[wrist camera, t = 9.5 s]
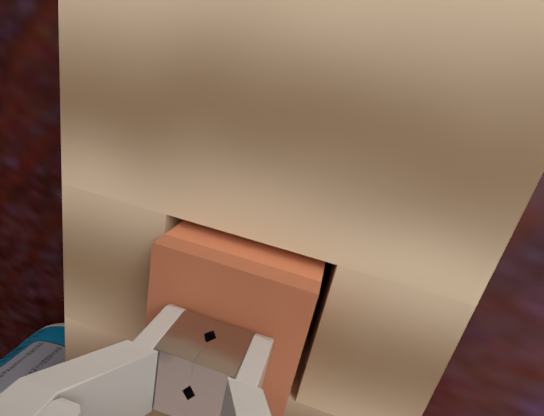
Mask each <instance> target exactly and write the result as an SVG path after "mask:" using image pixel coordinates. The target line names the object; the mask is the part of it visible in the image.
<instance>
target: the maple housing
mask: <svg viewBox="0 0 544 416" xmlns="http://www.w3.org/2000/svg"><path fill="white" fill-rule="evenodd" d="M58 15H59V65H60V116H61V166H62V216H63V267H64V317H65V362H66V361H69V360H71V359H74V358H77V357H80V356H83V355H86V354H88V353H91V352H94V351H97V350H100V349H103V348H105V347H108V346H111V345H114V344H117V343H120V342H122V341H125V340H129V341H133V340H134V339H135V338H136V337H137V336H138V335H139V334H140V333H141V332H142V331H143V330H144V329H145V323H146V311H147V299H148V288H149V276H150V264H151V252H152V242H154V241H155V240H157V239H158V238H159V237H161V236H162V235H164V234H165V233H167V232H168V231H169V230H171V229H172V228H174V227H175V226H176V225H178V224H179V223H181V222H182V221H184V220H187V221H190V222H193V223H197V224H200V225H204V226H207V227H210V228H214V229H217V230H220V231H224V232H227V233H231V234H234V235H237V236H241V237H244V238H247V239H251V240H254V241H258V242H261V243H264V244H268V245H271V246H274V247H278V248H281V249H285V250H288V251H291V252H295V253H298V254H301V255H305V256H308V257H312V258H315V259H318V260H322V261H325V262H328V263H327V266H326V269H325V273H324V276H323V279H322V283H321V287H320V292H319V296H318V300H317V303H316V306H315V310H314V313H313V316H312V320H311V323H310V327H309V330H308V333H307V337H306V340H305V343H304V347H303V350H302V354H301V357H300V360H299V364H298V367H297V370H296V374H295V377H294V381H293V384H292V387H291V391H290V394H289V397H288V401H287V404H286V408H285V411H284V414H283V416H422V414H423V412H424V410H425V408H426V406H427V404H428V402H429V400H430V398H431V396H432V394H433V392H434V390H435V388H436V386H437V384H438V382H439V380H440V378H441V376H442V374H443V372H444V370H445V368H446V366H447V364H448V362H449V360H450V358H451V356H452V354H453V352H454V350H455V348H456V346H457V344H458V342H459V340H460V338H461V336H462V334H463V332H464V330H465V328H466V326H467V324H468V322H469V320H470V318H471V316H472V314H473V312H474V310H475V308H476V306H477V304H478V302H479V300H480V298H481V296H482V294H483V292H484V290H485V288H486V286H487V284H488V282H489V280H490V278H491V276H492V274H493V272H494V270H495V268H496V266H497V264H498V262H499V260H500V258H501V256H502V254H503V252H504V250H505V248H506V246H507V244H508V242H509V240H510V238H511V236H512V234H513V232H514V230H515V228H516V226H517V224H518V222H519V220H520V218H521V216H522V214H523V212H524V210H525V208H526V206H527V204H528V202H529V200H530V198H531V196H532V194H533V192H534V190H535V188H536V186H537V184H538V182H539V180H540V178H541V176H542V174H543V172H544V0H58ZM145 416H171V415H168V414H165V413H162V412H160V411H157V410H154V409H152V411H151V412H149V413H148V414H146V415H145Z"/></svg>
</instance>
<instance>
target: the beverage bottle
mask: <svg viewBox="0 0 544 416" xmlns="http://www.w3.org/2000/svg"><path fill="white" fill-rule="evenodd" d="M63 362H65V323H57V324H52V325H49V326H46V327H44V328H42V329H40V330H38V331H37V332H35V333H34V334H33V335H31V336H30V337H29V338H27V339H26V340H25V341H23V342H22V343H21V344H20V345H19V346H18V347H16V348H15V349H13V350H12V351H11V352H9V353H8V354H7V355H5V356H4V357H3V358H1V359H0V394H1V393H2V392H3V391H4V390H5V389H7V388H8V387H9V386H10V385H12V384H13V383H14V382H15V381H16V380H18V379H19V378H20V377H23V376H26V375H29V374H32V373H35V372H37V371H40V370H43V369H46V368H49V367H52V366H54V365H57V364H60V363H63Z"/></svg>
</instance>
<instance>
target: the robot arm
mask: <svg viewBox="0 0 544 416" xmlns="http://www.w3.org/2000/svg"><path fill="white" fill-rule="evenodd" d="M273 342H274V339H273V338H270V337H267V336H264V335H261V334H258V333H253V332H250V331H247V330H244V329H241V328H238V327H235V326H232V325H229V324H226V323H223V322H220V321H217V320H215V319H212V318H209V317H207V316H204V315H201V314H198V313H196V312H193V311H190V310H188V309H187V310H186V309H184V308H181V307H178V306H176V305H173V304H169V305H167V306H165V307H164V308H163V309H162V310H161V311H160V313H159V314H158V315H157V316H156V317H155V318H154V319H153V320H152V321H151V322H150V323H149V324H148V325H147V326H146V328H145V329H144V330H143V331H142V332H141V333H140V334H139V335H138V336H137V337H136V338H135V339H134V340H133V341H129V340H125V341H122V342H120V343H117V344H114V345H111V346H108V347H105V348H103V349H100V350H97V351H94V352H91V353H88V354H86V355H83V356H80V357H77V358H74V359H71V360H69V361H66V362H63V363H60V364H57V365H54V366H52V367H49V368H46V369H43V370H40V371H37V372H35V373H32V374H29V375H26V376H23V377H20V378H19V379H18V380H16V381H15V382H14V383H13V384H12V385H10V386H9V387H8V388H7V389H5V390H4V391H3V392H2V393H1V394H0V416H145V415H146V414H148V413H149V412H151V411H152V409H154V410H157V411H160V412H162V413H165V414H168V415H171V416H271V413H270V410H269V407H268V403H267V400H266V397H265V394H264V391H263V389H261V388H262V384H263V381H264V377H265V374H266V370H267V366H268V362H269V358H270V354H271V351H272V347H273Z"/></svg>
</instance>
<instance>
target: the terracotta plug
mask: <svg viewBox="0 0 544 416" xmlns="http://www.w3.org/2000/svg"><path fill="white" fill-rule="evenodd" d="M324 267H325V261H322V260H318V259H315V258H312V257H308V256H305V255H301V254H298V253H295V252H291V251H288V250H285V249H281V248H278V247H274V246H271V245H268V244H264V243H261V242H258V241H254V240H251V239H247V238H244V237H241V236H237V235H234V234H231V233H227V232H224V231H220V230H217V229H214V228H210V227H207V226H204V225H200V224H197V223H193V222H190V221H187V220H184V221H182V222H181V223H179V224H178V225H176V226H175V227H174V228H172V229H171V230H169V231H168V232H167V233H165V234H164V235H162V236H161V237H159V238H158V239H157V240H155V241H154V242H152V252H151V264H150V276H149V288H148V299H147V311H146V323H145V328H146V326H147V325H148V324H149V323H150V322H151V321H152V320H153V319H154V318H155V317H156V316H157V315H158V314H159V313H160V311H161V310H162V309H163V308H164V307H165V306H167V305H169V304H173V305H176V306H178V307H181V308H184V309H186V310H187V309H188V310H190V311H193V312H196V313H198V314H201V315H204V316H207V317H209V318H212V319H215V320H217V321H220V322H223V323H226V324H229V325H232V326H235V327H238V328H241V329H244V330H247V331H250V332H253V333H258V334H261V335H264V336H267V337H270V338H273V339H274V342H273V347H272V351H271V354H270V358H269V362H268V366H267V370H266V374H265V377H264V381H263V384H262V388H261V389H263V391H264V394H265V397H266V400H267V403H268V407H269V410H270V413H271V416H283V414H284V411H285V408H286V404H287V401H288V397H289V394H290V391H291V387H292V384H293V381H294V377H295V374H296V370H297V367H298V364H299V360H300V357H301V354H302V350H303V347H304V343H305V340H306V337H307V333H308V330H309V327H310V323H311V320H312V316H313V313H314V310H315V306H316V303H317V300H318V296H319V292H320V287H321V282H322V277H323V272H324Z"/></svg>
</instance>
